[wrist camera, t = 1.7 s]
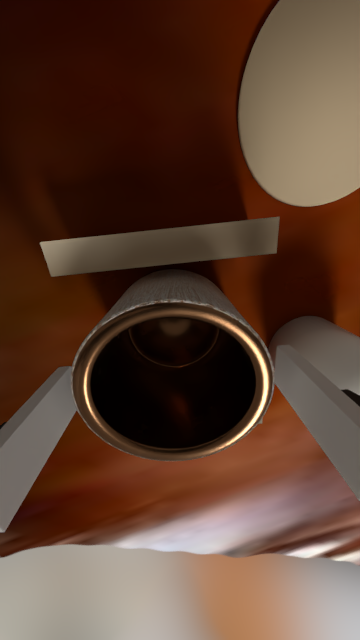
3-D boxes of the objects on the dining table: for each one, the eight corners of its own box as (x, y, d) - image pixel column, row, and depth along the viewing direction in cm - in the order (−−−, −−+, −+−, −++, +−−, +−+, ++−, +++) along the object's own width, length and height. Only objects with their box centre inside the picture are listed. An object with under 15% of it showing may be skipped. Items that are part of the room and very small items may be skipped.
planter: (219, 253, 17) (271, 268, 8) (236, 358, 21) (282, 445, 12) (100, 284, 17) (23, 329, 9) (138, 379, 22) (113, 477, 13)
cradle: (78, 241, 16) (39, 242, 11) (248, 223, 16) (279, 216, 11) (120, 396, 22) (106, 437, 18) (243, 385, 22) (262, 423, 18)
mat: (239, -24, 11) (241, -33, 11) (453, -50, 11) (462, -60, 11) (236, 214, 16) (238, 213, 15) (387, 198, 15) (393, 197, 15)
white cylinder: (270, 319, 19) (331, 369, 12) (342, 312, 19) (448, 357, 12) (265, 377, 22) (313, 447, 14) (328, 371, 22) (408, 438, 14)
